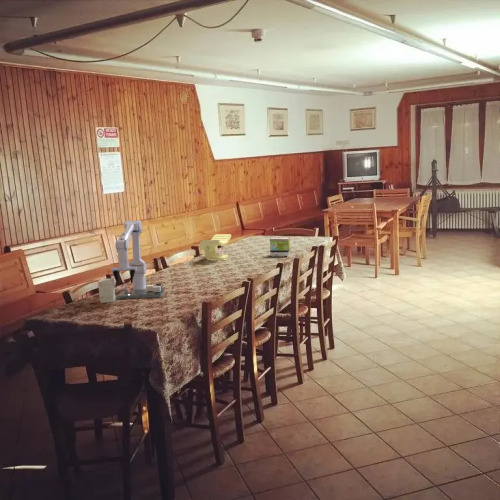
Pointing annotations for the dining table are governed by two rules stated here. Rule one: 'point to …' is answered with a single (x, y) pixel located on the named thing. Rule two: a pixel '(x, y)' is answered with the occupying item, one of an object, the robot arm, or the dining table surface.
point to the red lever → (127, 290)
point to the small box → (106, 290)
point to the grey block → (157, 288)
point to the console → (141, 294)
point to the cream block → (149, 287)
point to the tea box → (279, 246)
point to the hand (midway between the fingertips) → (125, 282)
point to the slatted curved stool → (211, 244)
